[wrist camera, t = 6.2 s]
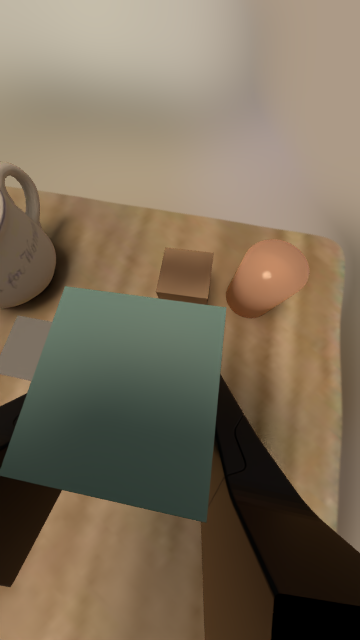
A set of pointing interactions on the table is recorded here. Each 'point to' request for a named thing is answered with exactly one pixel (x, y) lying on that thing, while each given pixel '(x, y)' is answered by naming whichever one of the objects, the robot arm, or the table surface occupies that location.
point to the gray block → (24, 347)
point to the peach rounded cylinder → (267, 278)
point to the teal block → (124, 402)
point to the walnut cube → (185, 276)
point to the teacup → (22, 244)
